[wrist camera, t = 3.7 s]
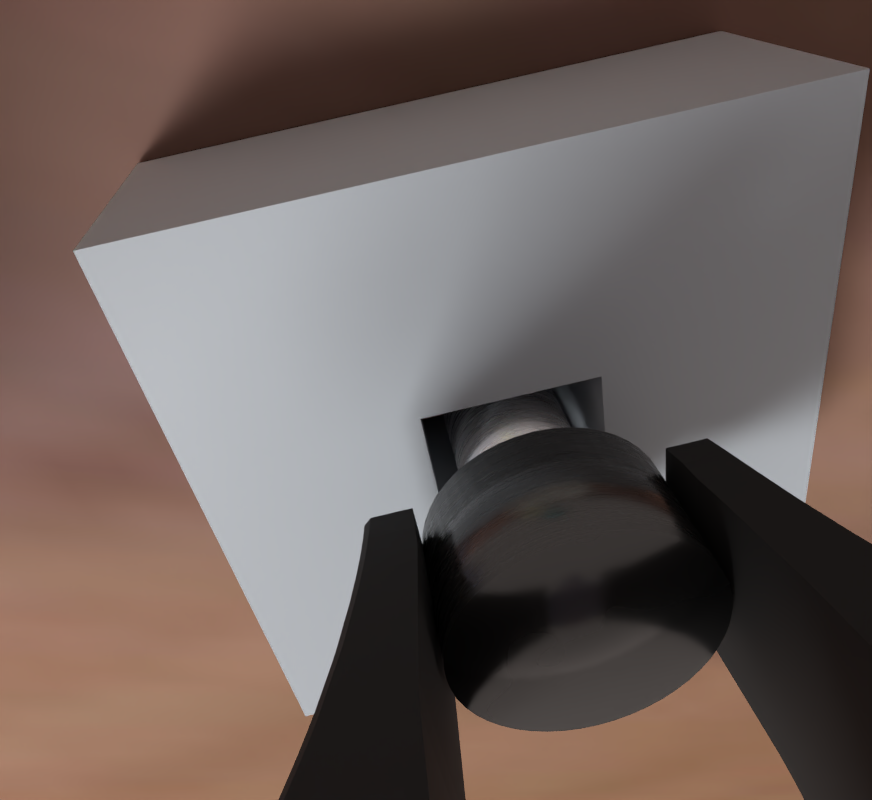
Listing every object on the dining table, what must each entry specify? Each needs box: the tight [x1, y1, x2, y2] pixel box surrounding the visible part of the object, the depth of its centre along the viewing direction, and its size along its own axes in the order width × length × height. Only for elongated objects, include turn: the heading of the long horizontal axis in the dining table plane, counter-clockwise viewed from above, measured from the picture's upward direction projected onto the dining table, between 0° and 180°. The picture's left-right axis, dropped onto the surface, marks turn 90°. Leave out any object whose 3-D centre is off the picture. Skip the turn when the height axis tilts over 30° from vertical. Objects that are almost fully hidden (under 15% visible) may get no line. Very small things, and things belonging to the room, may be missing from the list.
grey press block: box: [73, 31, 870, 716], centre depth 13 cm, size 10×10×4 cm
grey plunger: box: [422, 388, 733, 732], centre depth 11 cm, size 4×4×6 cm
